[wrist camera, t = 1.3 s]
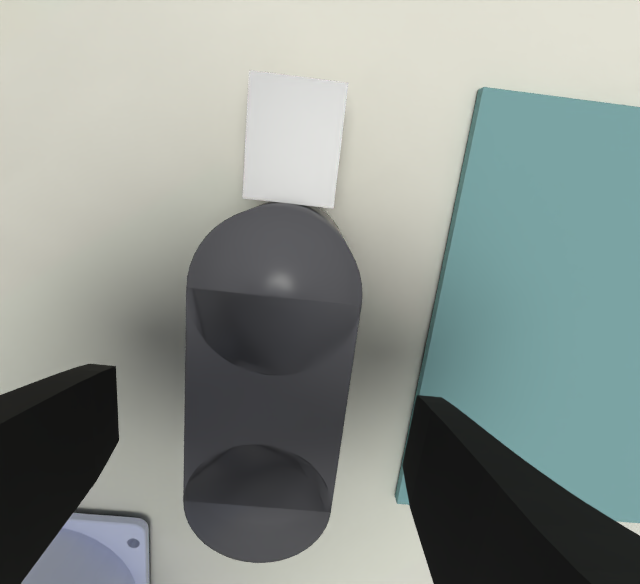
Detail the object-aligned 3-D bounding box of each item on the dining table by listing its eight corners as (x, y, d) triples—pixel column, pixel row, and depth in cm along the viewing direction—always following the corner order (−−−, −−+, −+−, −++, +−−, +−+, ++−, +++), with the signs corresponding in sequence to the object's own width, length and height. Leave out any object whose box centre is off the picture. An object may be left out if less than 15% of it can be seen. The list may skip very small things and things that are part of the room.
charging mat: (679, 519, 17) (688, 527, 16) (394, 495, 16) (396, 503, 16) (859, 139, 12) (876, 138, 12) (478, 90, 12) (483, 87, 12)
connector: (320, 449, 16) (322, 567, 11) (223, 441, 15) (182, 557, 11) (364, 110, 12) (397, 62, 7) (240, 95, 12) (190, 34, 7)
